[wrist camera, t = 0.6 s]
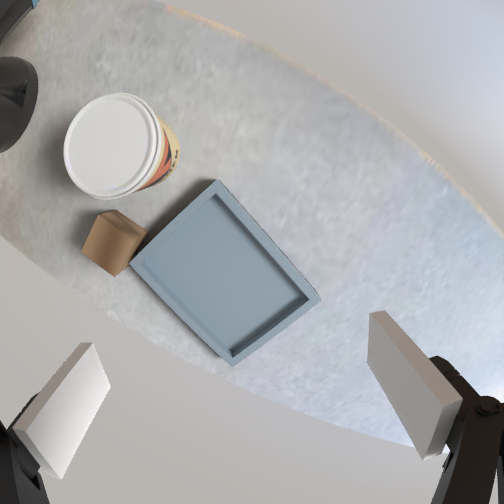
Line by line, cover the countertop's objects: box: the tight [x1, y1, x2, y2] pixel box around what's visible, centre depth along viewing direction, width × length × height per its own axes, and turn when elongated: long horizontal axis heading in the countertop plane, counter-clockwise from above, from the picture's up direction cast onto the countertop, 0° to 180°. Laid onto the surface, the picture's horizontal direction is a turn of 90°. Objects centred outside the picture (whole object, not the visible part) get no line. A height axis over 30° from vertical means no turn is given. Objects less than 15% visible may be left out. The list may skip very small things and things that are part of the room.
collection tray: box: [129, 180, 321, 367], centre depth 36 cm, size 18×14×2 cm
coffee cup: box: [63, 92, 180, 200], centre depth 28 cm, size 9×9×12 cm
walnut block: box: [81, 210, 148, 277], centre depth 34 cm, size 5×5×5 cm
